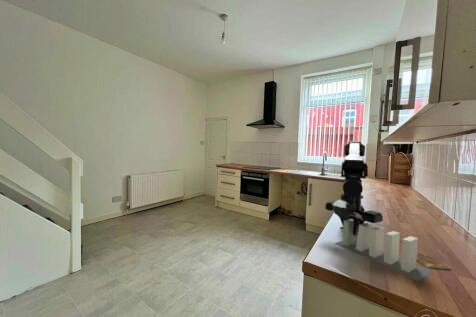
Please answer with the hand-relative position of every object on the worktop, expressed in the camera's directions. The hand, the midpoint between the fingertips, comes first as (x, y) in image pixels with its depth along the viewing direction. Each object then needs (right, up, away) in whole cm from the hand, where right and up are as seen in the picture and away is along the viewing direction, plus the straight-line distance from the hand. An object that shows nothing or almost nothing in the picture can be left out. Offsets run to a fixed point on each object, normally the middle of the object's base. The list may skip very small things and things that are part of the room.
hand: (350, 233), depth 76 cm
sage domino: (-1, -4, 0) cm, 4 cm away
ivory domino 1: (+2, -4, -4) cm, 6 cm away
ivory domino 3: (+6, -4, -12) cm, 14 cm away
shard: (+17, -6, -11) cm, 21 cm away
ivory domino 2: (+4, -4, -8) cm, 10 cm away
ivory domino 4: (+9, -5, -16) cm, 18 cm away
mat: (+4, -5, -8) cm, 10 cm away
